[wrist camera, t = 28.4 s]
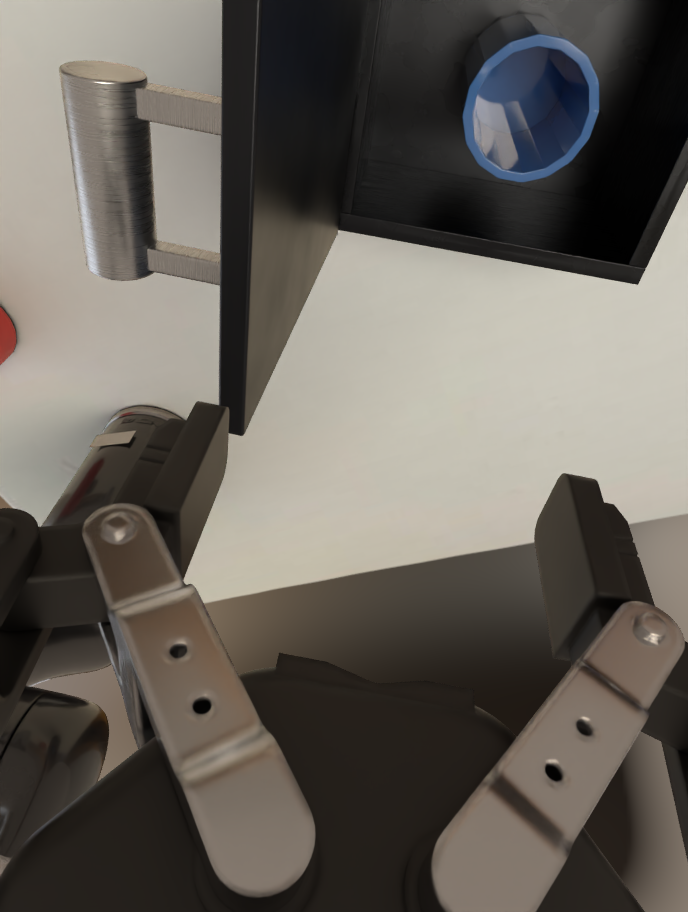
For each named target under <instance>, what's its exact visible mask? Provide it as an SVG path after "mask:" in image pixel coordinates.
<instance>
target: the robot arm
mask: <svg viewBox="0 0 688 912" xmlns="http://www.w3.org/2000/svg"><path fill="white" fill-rule="evenodd" d="M228 433H229V408H228V407H225V406H220V405H215V404H210V403H204V402H199V401H197V402H196V403H195V405H194V407H193V409H192V411H191V413H190V415H189V417H188V419H187V421H185V420H183V419H181V418H180V417H178V416H176V415H174V414H172V413H170V412H167V411H165V410H162V409H158V408H153V407H145V406H138V407H131V408H127V409H124V410H122V411H120V412H118V413H116V414H115V415H114V416H113V417H112V418H111V419H110V421H109V422H108V424H107V425H106V427H105V428H104V430H103V433H102V435H97V436H96V438H95V439H94V441H93V442H92V444H91V445H90V447H93V448H92V450H91V451H90V453H89V454H88V456H87V457H86V459H85V460H84V462H83V464H82V465H81V467H80V468H79V470H78V471H77V473H76V474H75V476H74V477H73V479H72V480H71V482H70V483H69V485H68V486H67V488H66V490H65V491H64V493H63V494H62V496H61V497H60V499H59V500H58V502H57V503H56V505H55V506H54V508H53V509H52V511H51V512H50V514H49V516H48V517H47V519H46V520H45V522H44V523H43V525H42V526H41V527H38V524H37V522H36V520H35V519H34V517H33V516H31V515H30V514H29V513H27V512H25V511H22V510H18V509H12V508H2V509H0V912H644V910H643V909H642V907H641V906H640V905H639V903H638V902H637V900H636V899H635V898H634V896H633V895H632V894H631V892H630V891H629V889H628V888H627V887H626V885H625V884H624V883H623V881H622V880H621V878H620V877H619V876H618V874H617V873H616V872H615V870H614V869H613V868H612V866H611V865H610V863H609V862H608V861H607V859H606V858H605V857H604V855H603V854H602V852H601V851H600V850H599V848H598V847H597V846H596V844H595V843H594V841H593V840H592V839H591V837H590V836H589V835H588V833H587V832H586V831H585V829H584V828H583V826H584V824H585V823H586V821H587V819H588V817H589V816H590V814H591V813H592V811H593V809H594V808H595V806H596V804H597V803H598V801H599V799H600V797H601V796H602V794H603V793H604V791H605V789H606V788H607V786H608V784H609V783H610V781H611V779H612V778H613V776H614V774H615V772H616V771H617V769H618V768H619V766H620V764H621V763H622V761H623V759H624V758H625V756H626V754H627V753H628V751H629V749H630V748H631V746H632V744H633V742H634V741H635V739H636V738H637V736H638V734H639V733H640V731H641V732H643V733H645V734H647V735H649V736H651V737H653V738H655V739H657V740H659V741H661V742H662V747H663V751H664V756H665V760H666V765H667V769H668V774H669V778H670V783H671V788H672V792H673V796H674V801H675V805H676V810H677V815H678V819H679V824H680V828H681V833H682V837H683V842H684V847H685V851H686V855H687V860H688V643H687V642H686V641H685V640H684V637H683V634H682V632H681V630H680V628H679V627H678V625H677V624H676V623H675V621H674V620H673V619H672V618H671V617H670V616H668V615H667V614H666V613H665V612H663V611H662V610H660V609H659V608H657V607H655V605H654V602H653V599H652V596H651V593H650V590H649V587H648V584H647V580H646V577H645V575H644V571H643V568H642V565H641V562H640V559H639V557H637V554H638V553H637V550H636V547H635V544H634V543H633V538H632V534H631V532H630V528H629V525H628V522H627V521H626V519H625V518H624V517H623V516H622V514H621V513H620V512H619V510H618V509H617V508H616V507H615V505H614V504H609V503H604V501H603V498H602V495H601V491H600V488H599V484H598V482H597V481H596V480H595V479H591V478H586V477H581V476H576V475H571V474H565V473H564V474H562V475H561V476H560V477H559V478H558V480H557V482H556V484H555V486H554V488H553V490H552V492H551V494H550V496H549V498H548V500H547V502H546V504H545V506H544V508H543V510H542V512H541V514H540V516H539V518H538V520H537V524H536V528H535V537H534V539H535V548H536V554H537V560H538V567H539V573H540V579H541V585H542V592H543V597H544V603H545V610H546V616H547V623H548V629H549V634H550V641H551V647H552V654H553V658H557V659H562V660H567V661H571V662H572V667H571V668H570V670H569V671H568V672H567V674H566V675H565V676H564V678H563V679H562V680H561V682H560V683H559V684H558V685H557V687H556V688H555V689H554V690H553V692H552V693H551V694H550V696H549V697H548V698H547V700H546V701H545V702H544V703H543V705H542V706H541V707H540V708H539V710H538V711H537V712H536V714H535V715H534V716H533V717H532V719H531V720H530V721H529V723H528V724H527V725H526V726H525V728H524V729H523V730H522V732H521V733H520V734H519V735H518V737H516V736H515V735H514V734H513V733H512V732H511V731H510V730H509V729H508V728H507V727H506V726H505V725H503V723H501V722H500V721H499V720H497V719H496V718H495V717H493V716H492V715H490V714H489V713H487V712H485V711H484V710H482V709H480V708H478V707H476V706H475V705H474V690H472V689H467V688H461V687H456V686H451V685H445V684H441V683H435V682H430V681H413V682H396V683H374V682H371V681H369V680H366V679H364V678H362V677H359V676H357V675H355V674H353V673H350V672H348V671H346V670H344V669H341V668H339V667H337V666H335V665H333V664H330V663H328V662H325V661H319V660H314V659H309V658H303V657H298V656H293V655H287V654H282V653H279V656H278V660H277V665H276V667H274V668H264V669H258V670H254V671H250V672H247V673H244V674H241V675H238V673H237V671H236V670H235V667H234V665H233V663H232V661H231V659H230V657H229V655H228V653H227V651H226V649H225V647H224V644H223V643H222V641H221V638H220V636H219V634H218V632H217V630H216V628H215V626H214V624H213V622H212V620H211V618H210V616H209V614H208V612H207V610H206V608H205V606H204V603H203V601H202V599H201V597H200V595H199V593H198V591H197V590H196V588H195V587H194V586H193V585H192V584H188V585H186V584H185V583H184V581H183V579H184V577H185V574H186V572H187V569H188V566H189V564H190V561H191V559H192V556H193V554H194V551H195V549H196V546H197V544H198V541H199V539H200V536H201V534H202V531H203V528H204V526H205V523H206V521H207V518H208V516H209V513H210V511H211V508H212V506H213V503H214V501H215V498H216V496H217V493H218V491H219V488H220V485H221V483H222V480H223V477H224V473H225V469H226V464H227V455H228ZM111 664H112V666H113V668H114V671H115V674H116V677H117V680H118V683H119V686H120V689H121V692H122V696H123V699H124V703H125V707H126V712H127V715H128V718H129V722H130V725H131V729H132V731H133V735H134V738H135V740H136V744H137V746H138V749H139V750H137V751H136V752H135V753H134V754H132V755H131V756H130V757H129V758H127V759H126V760H125V761H124V762H122V763H121V764H120V765H119V766H117V767H116V768H115V769H114V770H112V771H111V772H110V773H108V774H107V775H106V776H105V777H104V778H102V779H101V780H100V781H98V778H99V776H100V773H101V770H102V766H103V763H104V760H105V755H106V751H107V746H108V737H109V725H108V720H107V716H106V714H105V713H104V711H103V710H102V709H101V708H100V707H99V706H98V705H96V704H94V703H92V702H89V701H87V700H84V699H81V698H78V697H75V696H70V695H66V694H62V693H58V692H53V691H48V690H44V689H39V688H35V687H30V686H32V685H35V684H37V683H40V682H42V681H45V680H49V679H52V678H56V677H62V676H67V675H73V674H80V673H88V672H93V671H97V670H100V669H103V668H105V667H108V666H109V665H111Z"/></svg>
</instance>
